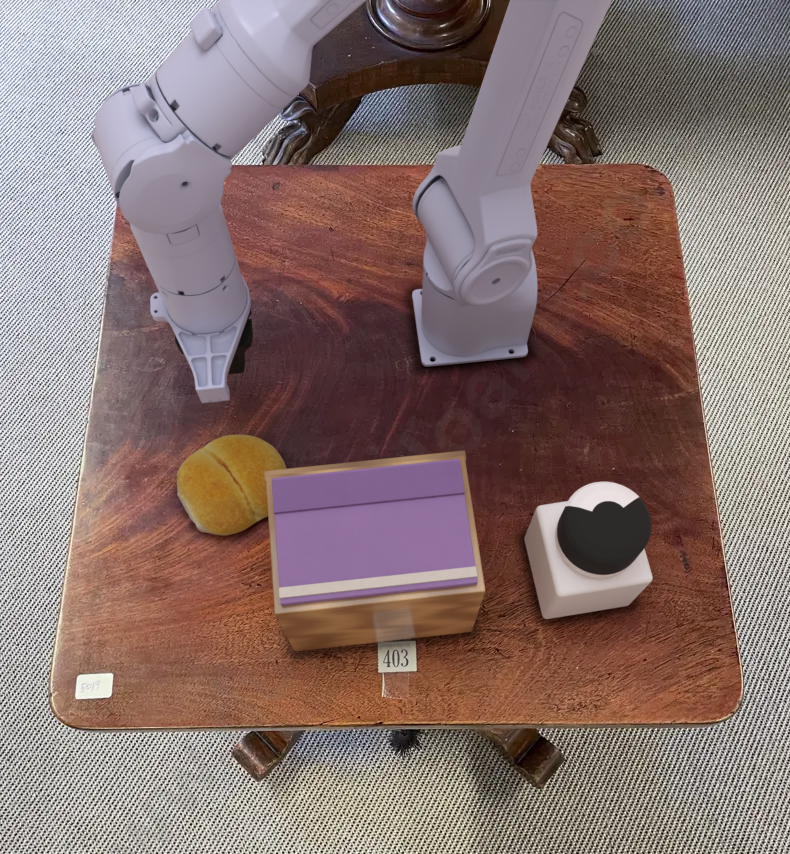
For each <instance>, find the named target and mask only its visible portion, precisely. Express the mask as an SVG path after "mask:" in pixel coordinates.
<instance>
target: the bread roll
mask: <svg viewBox="0 0 790 854" xmlns="http://www.w3.org/2000/svg"><path fill="white" fill-rule="evenodd" d="M280 469H287V466H286V463H285V460H284V459H283V457H282V455H281V454H280V453H279V451H278V450H277V449H276V448H275V447H274V446H273V445H272V444H271V443H270V442H267V441H266V440H265V439H262V438H260V437H257V436H254V435H250V434H226V435H222V436H220V437H217V438H215V439H213V440H212V441H210V442H209V443H207V444H205V445H204V446H202V447H201V448H199V449H197V450H196V451H194V452H193V453H191V454H190V455H189V456H187V458H185V460H184V461H183V463H181V465H180V467H179V469H178V471H177V474H176V488H177V497H178V499H179V500H180V502H181V504H182V506H183V508H184V510H185V512H186V513H187V515H188V517H189V519H190V520H191V521H192V523H194V524H195V527H196V529H197V530H198V531H199V532H201V533H205V534H212V535H216V536H230V535H234V534H238V533H241V532H244V531H245V530H247V529H248V528H250V527H252V526H253V525H255V524H256V523H257V522H259V521H261V520H263V519H266V518H268V504H267V488H266V483H265V478H264V471H271V470H280Z"/></svg>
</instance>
